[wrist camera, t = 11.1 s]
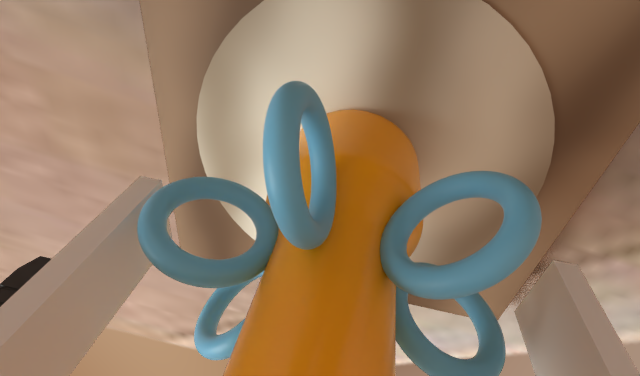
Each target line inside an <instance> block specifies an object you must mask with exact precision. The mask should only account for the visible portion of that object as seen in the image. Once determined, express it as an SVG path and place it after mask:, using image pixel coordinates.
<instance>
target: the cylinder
mask: <svg viewBox="0 0 640 376" xmlns="http://www.w3.org/2000/svg"><path fill="white" fill-rule="evenodd" d="M301 124H302V127H303V129H302V130H301V131H300V125H301ZM263 168H264V177H265V184H266V189H267V198H266V201H265V200H264V199H263V198H262V197H260V196H259V195H258V194H257V193H255V192H254V191H252V190H251V189H249V188H247V187H245V186H243V185H241V184H239V183H236V182H233V181H230V180H226V179H222V178H216V177H191V178H186V179H181V180H178V181H175V182H172V183H170V184H168V185H166V186H164V187H162V188H161V189H159V190H158V191H156V192H155V193H154V194H153V195H152V196H151V197H150V198H149V199H148V200H147V201H146V203H145V204H144V206H143V208H142V210H141V212H140V215H139V218H138V223H137V234H138V240H139V243H140V246H141V248H142V250H143V252H144V254H145V255H146V257H147V258H148V259H149V261H150V262H151V263H152V264H153V265H154V266H155V267H156V268H157V269H159V270H160V271H161V272H162V273H164V274H165V275H167V276H169V277H171V278H172V279H175V280H177V281H179V282H182V283H185V284H188V285H192V286H196V287H203V288H217V289H216V290H215V292H214V293H213V294H212V296H211V297H210V298H209V300H208V301H207V303H206V304H205V306H204V308H203V310H202V312H201V314H200V316H199V318H198V321H197V324H196V328H195V333H194V341H195V346H196V348H197V350H198V352H199V353H200V354H201V355H202V356H203V357H205V358H207V359H210V360H223V359H227V358H230V359H229V361H228V364H227V366H226V369H225V371H224V374H223V376H395V340H396V341H397V343H398V344H399V346H400V347H401V349H402V350H403V351H404V353H405V354H406V355H407V356H408V357H409V358H410V359H411V361H412V362H413V363H414V364H416V365H417V366H418V367H419V368H420V369H421V370H423V371H424V372H425V373H427V374H428V375H429V376H499V374H500V373H501V371H502V368H503V366H504V362H505V342H504V337H503V333H502V330H501V328H500V325H499V323H498V321H497V319H496V317H495V315H494V313H493V312H492V310H491V308H490V307H489V305H488V304H487V303H486V301H485V300H484V299H483V298H482V297H481V295H480V294H479V293H478V292H481V291H483V290H486V289H488V288H490V287H492V286H494V285H495V284H497V283H499V282H500V281H502V280H504V279H505V278H506V277H508V276H509V275H510V274H512V273H513V272H514V271H515V270H516V269H517V268H518V267H519V266H520V265H521V264H522V263H523V262H524V261H525V260H526V258H527V257H528V256H529V254H530V253H531V251H532V250H533V248H534V246H535V244H536V242H537V240H538V237H539V234H540V230H541V224H542V215H541V209H540V205H539V202H538V200H537V198H536V196H535V195H534V193H533V192H532V191H531V190H530V188H529V187H528V186H526V185H525V184H524V183H523V182H521V181H520V180H518V179H516V178H514V177H512V176H510V175H507V174H504V173H500V172H494V171H470V172H464V173H459V174H455V175H452V176H448V177H446V178H443V179H440V180H438V181H436V182H434V183H432V184H430V185H428V186H426V187H424V188H423V189H421V185H420V174H419V165H418V159H417V155H416V152H415V149H414V147H413V145H412V143H411V141H410V140H409V138H408V137H407V136H406V135H405V133H404V132H403V131H402V130H401V129H400V128H399V127H397V126H396V125H395V124H394V123H392V122H391V121H389V120H387V119H385V118H384V117H382V116H380V115H377V114H374V113H371V112H368V111H361V110H355V109H350V110H338V111H334V112H330V113H327V114H326V111H325V109H324V106H323V104H322V102H321V100H320V98H319V96H318V94H317V93H316V92H315V90H314V89H313V88H312V87H311V86H309V85H308V84H306V83H304V82H301V81H290V82H287V83H285V84H284V85H282V86H281V87H280V88H279V89H278V90H277V91H276V92H275V94H274V95H273V97H272V99H271V101H270V104H269V107H268V110H267V114H266V118H265V124H264V132H263ZM466 198H487V199H491V200H494V201H496V202H497V203H499V204H500V205H501V206H502V208H503V211H504V219H503V222H502V225H501V227H500V229H499V231H498V232H497V234H496V235H495V236H494V237H493V238H492V239H491V241H490V242H488V243H487V244H486V245H485V246H484V247H483V248H481V249H480V250H478V251H477V252H475V253H474V254H472V255H470V256H468V257H466V258H464V259H462V260H459V261H457V262H454V263H450V264H446V265H440V266H438V265H434V264H430V263H424V262H413V261H412V260H411V259H410V258H409V257H410V256H411V255H412V253H413V252H414V250H415V249H416V247H417V245H418V243H419V241H420V238H421V234H422V230H423V219H424V218H425V217H426V216H427V215H429V214H430V213H432V212H433V211H435V210H436V209H438V208H440V207H442V206H444V205H446V204H448V203H451V202H454V201H457V200H461V199H466ZM199 199H213V200H219V201H223V202H227V203H229V204H232V205H234V206H236V207H238V208H239V209H241V210H242V211H244V212H245V213H246V214H247V215H248V216H249V217H250V218H251V220H252V221H253V223H254V225H255V228H256V240H255V242H254V244H253V246H252V247H251V248H250V249H249V250H248V251H247V252H245V253H243V254H241V255H239V256H237V257H234V258H229V259H221V260H215V259H206V258H201V257H198V256H195V255H192V254H190V253H188V252H186V251H184V250H183V249H181V248H180V247H179V246H178V245H176V244H175V243H174V241H173V240H172V239H171V237H170V236H169V234H168V231H167V220H168V217H169V215H170V214H171V212H172V211H173V210H174V209H175V208H177V207H178V206H180V205H182V204H184V203H186V202H189V201H193V200H199ZM261 276H262V278H261V280H260V283H259V285H258V288H257V290H256V293H255V295H254V298H253V300H252V303H251V306H250V308H249V311H248V313H247V316H246V318H245V319H244V320H243V321H242V322H240V323H239V324H238V325H237V326H235V327H234V328H233V329H231V330H230V331H228V332H226V333H224V334H221V335H217V334H216V330H217V325H218V322H219V320H220V318H221V316H222V314H223V312H224V310H225V309H226V307H227V306H228V304H229V303H230V302H231V300H232V299H233V298H234V297H235V296H236V295H237V294H238V293H239V292H240V291H241V290H242V289H243V288H244V287H245V286H246V285H248V284H249V283H250V282H252V281H253V280H255V279H257V278H259V277H261ZM408 293H409V294H411V295H414V296H417V297H421V298H426V299H436V300H445V299H455V300H456V301H457V302H458V303H459V304H460V305H461V306H462V308H463V309H464V310H465V311H466V313H467V314H468V316H469V317H470V319H471V320H472V322H473V324H474V326H475V329H476V331H477V335H478V340H479V349H478V352H477V354H476V355H475V356H474V357H473V358H471V359H458V358H455V357H452V356H450V355H448V354H446V353H444V352H443V351H441V350H440V349H438V348H437V347H436V346H434V345H433V344H432V343H431V342H430V341H429V340H428V339H427V338H426V337H425V336H424V335H423V333H422V332H421V331H420V329H419V328H418V326H417V325H416V323H415V322H414V320H413V318H412V315H411V313H410V310H409V306H408Z"/></svg>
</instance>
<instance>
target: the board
mask: <svg viewBox="0 0 640 376" xmlns="http://www.w3.org/2000/svg"><path fill="white" fill-rule="evenodd" d="M139 1H140V7H141V13H142V19H143V25H144V31H145V37H146V43H147V49H148V56H149V62H150V68H151V74H152V80H153V86H154V92H155V98H156V104H157V110H158V116H159V122H160V128H161V134H162V140H163V147H164V153H165V159H166V165H167V171H168V177H169V183H172V182H175V181H178V180H181V179H186V178H191V177H216V178H222V179H226V180H230V181H233V182H236V183H239V184H241V185H243V186H245V187H247V188H249V189H251V190H252V191H254V192H255V193H257V194H258V195H259V196H260V197H262V198H263V199H264V200H265V201H266V198H267V189H266V184H265V177H264V168H263V132H264V124H265V118H266V114H267V110H268V107H269V104H270V101H271V99H272V97H273V95H274V94H275V92H276V91H277V90H278V89H279V88H280V87H281V86H282V85H284V84H285V83H287V82H290V81H301V82H304V83H306V84H308V85H309V86H311V87H312V88H313V89H314V90H315V92H316V93H317V94H318V96H319V98H320V100H321V102H322V104H323V106H324V109H325V111H326V114H327V113H330V112H334V111H338V110H350V109H355V110H361V111H368V112H371V113H374V114H377V115H380V116H382V117H384V118H385V119H387V120H389V121H391V122H392V123H394V124H395V125H396V126H397V127H399V128H400V129H401V130H402V131H403V132H404V133H405V135H406V136H407V137H408V138H409V140H410V141H411V143H412V145H413V147H414V149H415V152H416V155H417V159H418V165H419V174H420V185H421V189H423V188H424V187H426V186H428V185H430V184H432V183H434V182H436V181H438V180H440V179H443V178H446V177H448V176H452V175H455V174H459V173H464V172H470V171H494V172H500V173H504V174H507V175H510V176H512V177H514V178H516V179H518V180H520V181H521V182H523V183H524V184H525V185H526V186H528V187H529V188H530V190H531V191H532V192H533V193H534V195H535V196H536V198H537V200H538V202H539V205H540V209H541V215H542V224H541V230H540V234H539V237H538V240H537V242H536V244H535V246H534V248H533V250H532V251H531V253H530V254H529V256H528V257H527V258H526V260H525V261H524V262H523V263H522V264H521V265H520V266H519V267H518V268H517V269H516V270H515V271H514V272H513V273H512V274H510V275H509V276H508V277H506V278H505V279H504V280H502V281H500V282H499V283H497V284H495V285H494V286H492V287H490V288H488V289H486V290H483V291H481V292H478V293H479V294H480V295H481V297H482V298H483V299H484V300H485V301H486V303H487V304H488V305H489V307H490V308H491V310H492V312H493V313H494V315H495V317H496V319H497V320H498V319H499V318H500V316H501V315H502V313H503V312H504V311H505V309H506V308H507V306H508V305H509V304H510V302H511V301H512V299H513V298H514V297H515V295H516V294H517V293H518V291H519V290H520V288H521V287H522V286H523V284H524V283H525V281H526V280H527V279H528V277H529V276H530V274H531V273H532V272H533V270H534V269H535V267H536V266H537V265H538V263H539V262H540V260H541V259H542V258H543V256H544V255H545V253H546V252H547V251H548V249H549V248H550V246H551V245H552V244H553V242H554V241H555V239H556V238H557V237H558V235H559V234H560V233H561V231H562V230H563V228H564V227H565V226H566V224H567V223H568V221H569V220H570V219H571V217H572V216H573V214H574V213H575V212H576V210H577V209H578V207H579V206H580V205H581V203H582V202H583V200H584V199H585V198H586V196H587V195H588V193H589V192H590V191H591V189H592V188H593V186H594V185H595V184H596V182H597V181H598V179H599V178H600V177H601V175H602V174H603V173H604V171H605V170H606V168H607V167H608V166H609V164H610V163H611V161H612V160H613V159H614V157H615V156H616V154H617V153H618V152H619V150H620V149H621V147H622V146H623V145H624V143H625V142H626V140H627V139H628V138H629V136H630V135H631V133H632V132H633V131H634V129H635V128H636V126H637V125H638V124H639V122H640V0H139ZM302 129H303V127H302V124H301V125H300V131H301V130H302ZM174 213H175V219H176V225H177V231H178V238H179V244H180V248H181V249H183V250H184V251H186V252H188V253H190V254H192V255H195V256H198V257H201V258H206V259H215V260H221V259H229V258H234V257H237V256H239V255H241V254H243V253H245V252H247V251H248V250H249V249H250V248H251V247H252V246H253V244H254V242H255V240H256V228H255V225H254V223H253V221H252V220H251V218H250V217H249V216H248V215H247V214H246V213H245V212H244V211H242V210H241V209H239V208H238V207H236V206H234V205H232V204H229V203H227V202H223V201H219V200H213V199H199V200H193V201H189V202H186V203H184V204H182V205H180V206H178V207H177V208H175V209H174ZM503 219H504V211H503V208H502V206H501V205H500V204H499V203H497V202H496V201H494V200H491V199H487V198H466V199H461V200H457V201H454V202H451V203H448V204H446V205H444V206H442V207H440V208H438V209H436V210H435V211H433V212H432V213H430V214H429V215H427V216H426V217H425V218H424V219H423V230H422V234H421V238H420V241H419V243H418V245H417V247H416V249H415V250H414V252H413V253H412V255H411V256H410V257H409V258H410V259H411V260H412V261H413V262H424V263H430V264H434V265H438V266H440V265H446V264H450V263H454V262H457V261H459V260H462V259H464V258H466V257H468V256H470V255H472V254H474V253H475V252H477V251H478V250H480V249H481V248H483V247H484V246H485V245H486V244H487V243H488V242H490V241H491V239H492V238H493V237H494V236H495V235H496V234H497V232H498V231H499V229H500V227H501V225H502V222H503ZM408 304H412V305H417V306H421V307H426V308H430V309H435V310H439V311H444V312H448V313H453V314H457V315H462V316H466V317H469V316H468V314H467V313H466V311H465V310H464V309H463V308H462V306H461V305H460V304H459V303H458V302H457V301H456V300H455V299H445V300H436V299H426V298H421V297H417V296H414V295H411V294H409V293H408Z"/></svg>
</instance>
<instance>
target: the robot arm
mask: <svg viewBox="0 0 640 376" xmlns="http://www.w3.org/2000/svg"><path fill="white" fill-rule="evenodd" d="M162 187H163V185H162V180H158V179H153V178H148V177H143V176H140V177H139V178H138V179H137V180H136V181H135V182H134V183H133V184H131V185H130V186H129V187H128V188H127V189H126V190H125V191H124V192H123V193H122V194H121V195H120V196H119V197H118V198H116V199H115V200H114V201H113V202H112V203H111V204H110V205H109V206H108V207H107V208H106V209H105V210H104V211H103V212H101V213H100V214H99V215H98V216H97V217H96V218H95V219H94V220H93V221H92V222H91V223H90V224H89V225H88V226H86V227H85V228H84V229H83V230H82V231H81V232H80V233H79V234H78V235H77V236H76V237H75V238H74V239H73V240H71V241H70V242H69V243H68V244H67V245H66V246H65V247H64V248H63V249H62V250H61V251H60V252H59V253H58V254H56V255H55V256H54V257H53V258H52V259H50V258H46V257H42V256H40V257H38V258H36V259H34V260H32V261H31V262H29V263H27V264H25V265H23V266H21V267H20V268H18V269H17V270H16V271H14V272H13V273H12V274H11V275H10V276H9V277H8V278H6V279H5V280H4V281H3V282H2V283H1V284H0V376H70V374H71V373H72V372H73V370H74V369H75V368H76V366H77V365H78V364H79V362H80V361H81V360H82V358H83V357H84V356H85V354H86V353H87V352H88V350H89V349H90V347H91V346H92V345H93V343H94V342H95V341H96V339H97V338H98V337H99V335H100V334H101V333H102V331H103V330H104V329H105V327H106V326H107V325H108V323H109V322H110V321H111V319H112V318H113V317H114V315H115V314H116V313H117V311H118V310H119V309H120V307H121V306H122V304H123V303H124V302H125V300H126V299H127V298H128V296H129V295H130V294H131V292H132V291H133V290H134V288H135V287H136V286H137V284H138V283H139V282H140V280H141V279H142V278H143V276H144V275H145V274H146V272H147V271H148V269H149V268H150V267H151V265H152V263H151V262H150V261H149V259H148V258H147V257H146V255H145V254H144V252H143V250H142V248H141V246H140V243H139V240H138V234H137V223H138V218H139V215H140V212H141V210H142V208H143V206H144V204H145V203H146V201H147V200H148V199H149V198H150V197H151V196H152V195H153V194H154V193H155V192H156V191H158V190H159V189H161V188H162ZM167 231H168V234H169V236H170V237H171V239H172V235H171V230H170V224H169V219H168V220H167ZM515 314H516V317H517V320H518V323H519V327H520V330H521V333H522V336H523V339H524V342H525V345H526V348H527V351H528V354H529V357H530V360H531V363H532V366H533V369H534V373H535V376H640V374H639V372H638V370H637V368H636V367H635V365H634V363H633V362H632V360H631V358H630V356H629V354H628V353H627V351H626V349H625V347H624V346H623V344H622V342H621V340H620V338H619V337H618V335H617V333H616V331H615V330H614V328H613V326H612V324H611V323H610V321H609V319H608V317H607V316H606V314H605V312H604V310H603V308H602V307H601V305H600V303H599V301H598V300H597V298H596V296H595V294H594V293H593V291H592V289H591V287H590V286H589V284H588V282H587V280H586V278H585V277H584V275H583V273H582V271H581V270H580V268H579V266H578V265H576V264H571V263H566V262H561V261H556V260H553V261H552V262H551V263H550V265H549V266H548V267H547V269H546V270H545V271H544V273H543V274H542V275H541V277H540V278H539V279H538V281H537V282H536V283H535V285H534V286H533V287H532V289H531V290H530V291H529V293H528V294H527V295H526V297H525V298H524V299H523V301H522V302H521V303H520V305H519V306H518V307H517V309H516V310H515Z"/></svg>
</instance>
